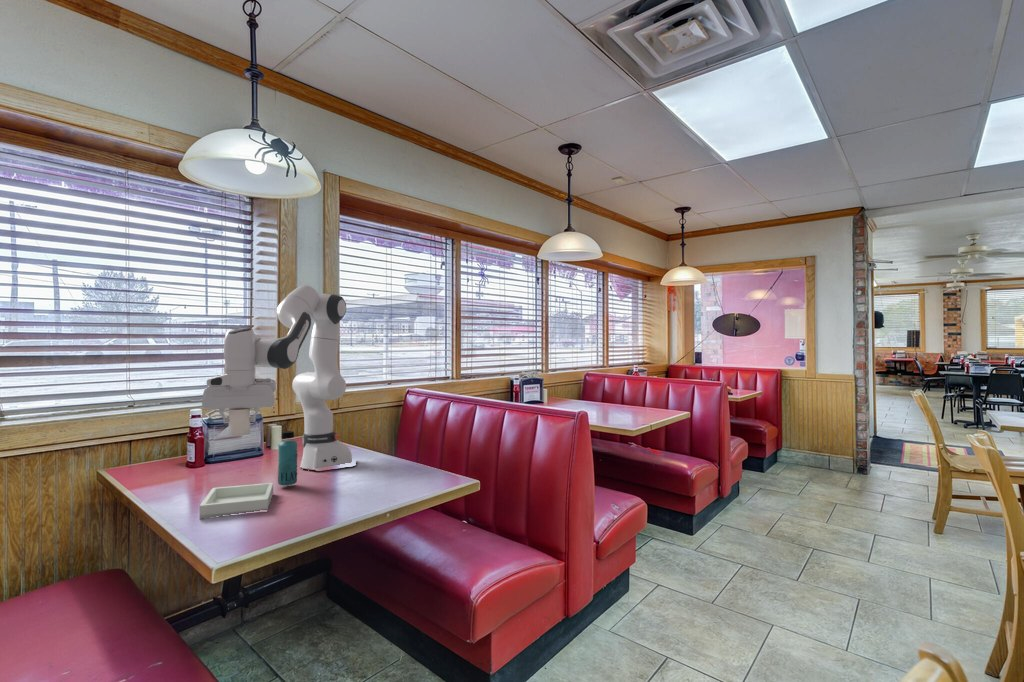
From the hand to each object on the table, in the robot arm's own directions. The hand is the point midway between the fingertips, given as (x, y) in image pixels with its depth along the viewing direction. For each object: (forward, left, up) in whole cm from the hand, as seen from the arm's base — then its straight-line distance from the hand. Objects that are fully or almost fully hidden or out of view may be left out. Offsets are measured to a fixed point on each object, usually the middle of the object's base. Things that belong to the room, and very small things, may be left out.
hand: (239, 422), depth 155 cm
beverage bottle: (-13, -16, -27) cm, 34 cm away
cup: (0, 0, -4) cm, 4 cm away
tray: (0, 0, -27) cm, 27 cm away
